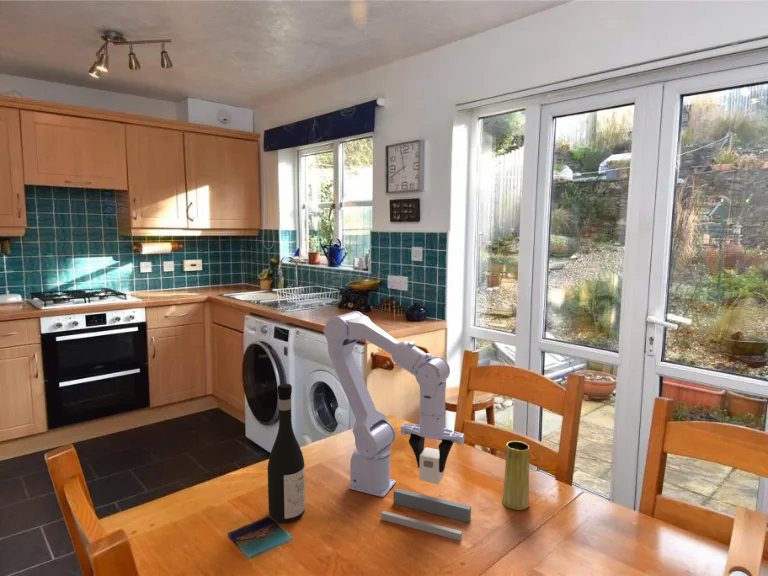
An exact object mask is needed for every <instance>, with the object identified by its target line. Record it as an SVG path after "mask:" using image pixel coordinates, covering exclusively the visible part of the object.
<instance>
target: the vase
mask: <svg viewBox="0 0 768 576" xmlns="http://www.w3.org/2000/svg"><path fill="white" fill-rule="evenodd" d="M505 445H506V446H505V447H506V450H505V451H506V452H505V467H504V482H503V490H502V491H503V492H502V500H501V501H502V505H504V506H505V507H506V508H508V509H511V510H514V511H524V510H526V509H527V508H529V506H530V456H531V455H530V454H531V447H530V445H529V444H528V443H526V442H524V441H520V440H509V441H508V442H507V443H506V444H505Z"/></svg>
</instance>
